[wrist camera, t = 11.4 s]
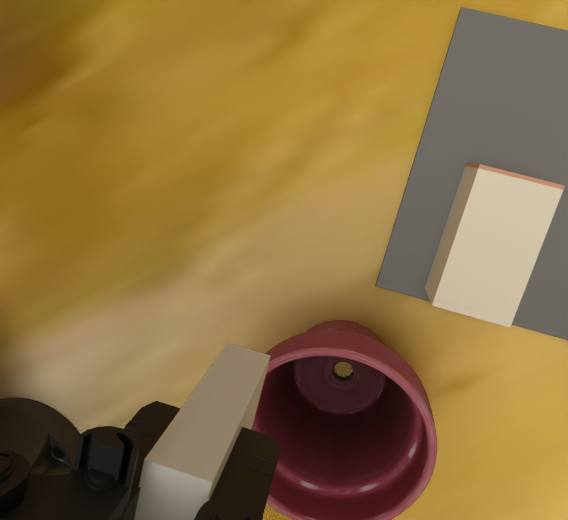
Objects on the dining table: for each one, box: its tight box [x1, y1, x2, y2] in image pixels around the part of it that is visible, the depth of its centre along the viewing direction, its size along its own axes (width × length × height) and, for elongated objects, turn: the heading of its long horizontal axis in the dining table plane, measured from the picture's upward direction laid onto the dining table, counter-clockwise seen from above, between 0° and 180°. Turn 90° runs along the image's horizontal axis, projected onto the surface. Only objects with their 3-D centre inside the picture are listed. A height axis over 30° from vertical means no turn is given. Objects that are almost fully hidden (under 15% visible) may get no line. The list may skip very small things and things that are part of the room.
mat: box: [376, 7, 568, 340], centre depth 40 cm, size 18×23×1 cm
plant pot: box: [251, 321, 437, 520], centre depth 40 cm, size 14×14×13 cm
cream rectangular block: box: [424, 163, 565, 328], centre depth 39 cm, size 6×5×11 cm
